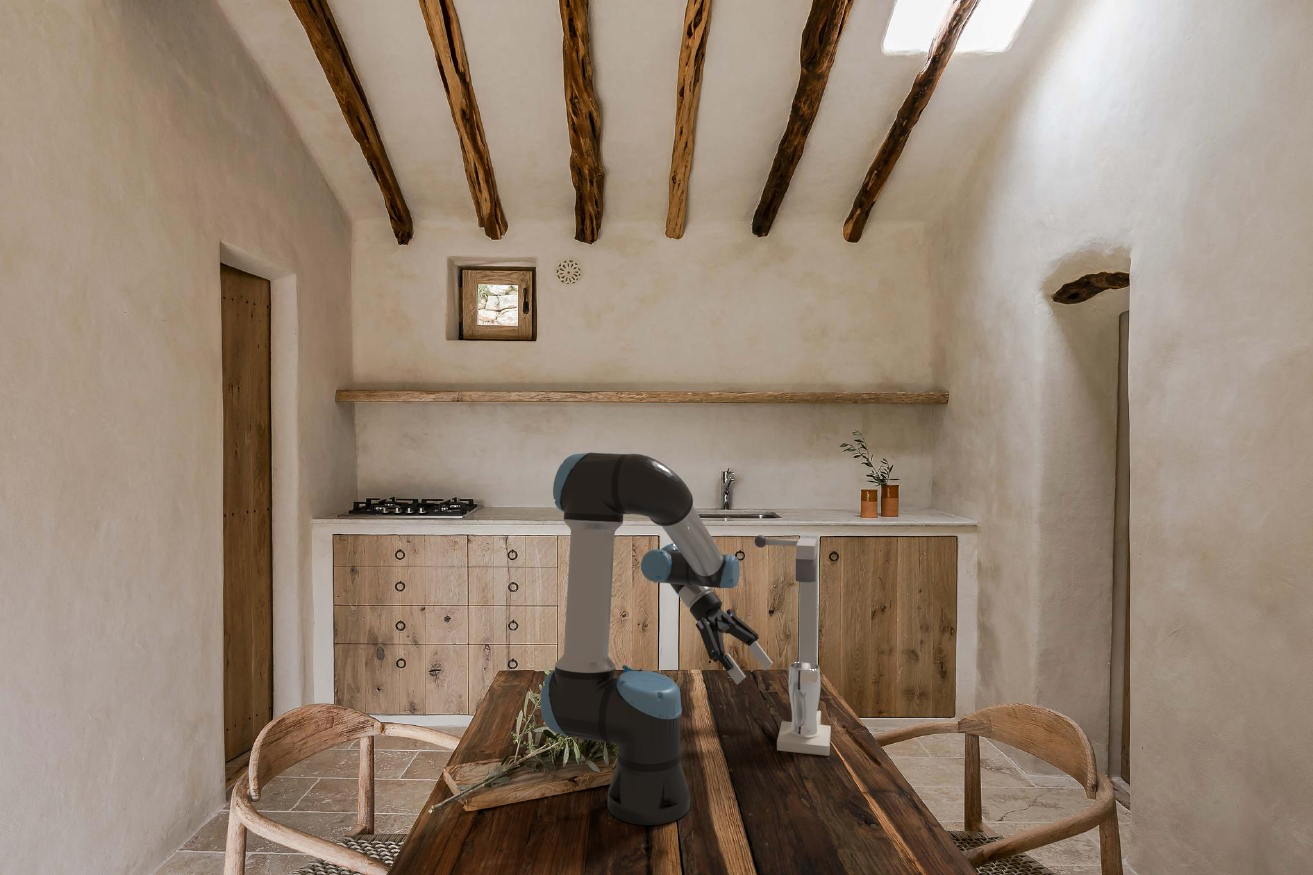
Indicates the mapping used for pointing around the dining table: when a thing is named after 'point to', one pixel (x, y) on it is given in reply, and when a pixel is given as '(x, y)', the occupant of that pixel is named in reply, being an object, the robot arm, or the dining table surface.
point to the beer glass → (804, 698)
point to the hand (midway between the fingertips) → (755, 673)
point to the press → (804, 636)
